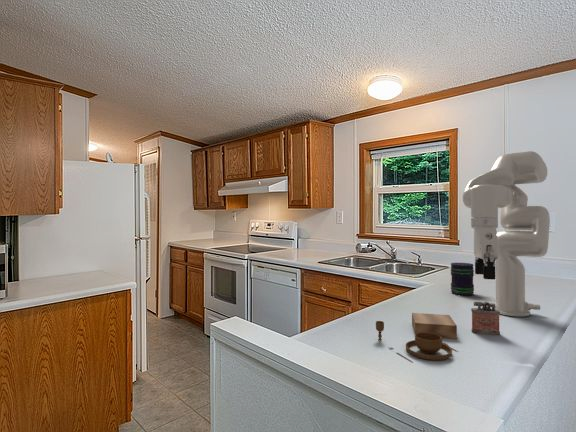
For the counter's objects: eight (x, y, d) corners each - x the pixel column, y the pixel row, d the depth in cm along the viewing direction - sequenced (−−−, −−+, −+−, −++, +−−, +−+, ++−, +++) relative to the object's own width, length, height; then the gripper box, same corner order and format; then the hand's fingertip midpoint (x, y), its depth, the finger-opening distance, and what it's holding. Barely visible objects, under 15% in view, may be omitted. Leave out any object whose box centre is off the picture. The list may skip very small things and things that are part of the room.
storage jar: (475, 294, 166) (474, 263, 166) (473, 298, 158) (472, 265, 158) (452, 292, 171) (451, 262, 171) (449, 296, 163) (449, 264, 163)
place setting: (416, 367, 87) (416, 343, 87) (371, 340, 106) (371, 321, 106) (469, 357, 93) (469, 335, 93) (418, 334, 112) (418, 315, 112)
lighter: (498, 332, 111) (498, 301, 111) (501, 336, 108) (501, 304, 108) (470, 330, 114) (470, 299, 114) (472, 333, 111) (472, 302, 111)
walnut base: (449, 326, 117) (449, 315, 117) (456, 338, 106) (456, 325, 106) (411, 324, 120) (411, 312, 120) (415, 335, 109) (415, 322, 109)
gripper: (506, 223, 102) (507, 281, 102) (489, 223, 118) (489, 273, 118) (478, 223, 104) (479, 280, 104) (465, 223, 120) (465, 272, 120)
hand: (484, 276), depth 111 cm, fingers open, 9 cm apart
